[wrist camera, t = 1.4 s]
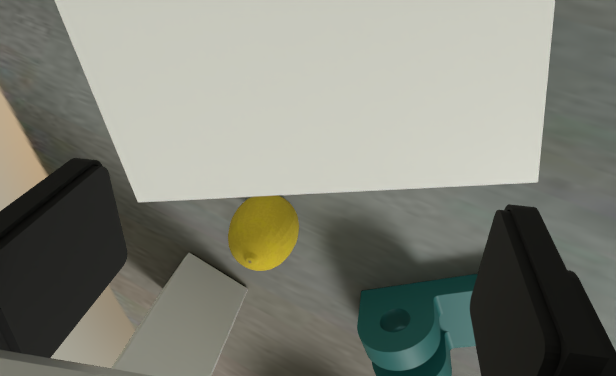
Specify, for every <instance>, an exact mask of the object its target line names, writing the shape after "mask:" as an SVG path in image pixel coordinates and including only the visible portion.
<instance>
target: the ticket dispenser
mask: <svg viewBox="0 0 616 376" xmlns="http://www.w3.org/2000/svg"><path fill="white" fill-rule="evenodd" d="M55 2H56V5H57V7H58V10H59V12H60V15H61V17H62V19H63V22H64V24H65V27H66V29H67V32H68V34H69V36H70V39H71V41H72V44H73V46H74V49H75V51H76V53H77V56H78V58H79V61H80V63H81V66H82V68H83V70H84V73H85V75H86V78H87V80H88V82H89V85H90V87H91V90H92V92H93V95H94V97H95V99H96V102H97V104H98V107H99V109H100V112H101V114H102V116H103V119H104V121H105V124H106V126H107V129H108V131H109V133H110V136H111V138H112V141H113V143H114V146H115V148H116V150H117V153H118V155H119V158H120V160H121V162H122V165H123V167H124V170H125V172H126V175H127V177H128V179H129V182H130V184H131V187H132V189H133V192H134V194H135V196H136V199H137V201H138V202H156V201H176V200H195V199H215V198H235V197H255V196H275V195H295V194H315V193H335V192H355V191H375V190H394V189H414V188H434V187H454V186H474V185H494V184H514V183H534V182H538V175H539V164H540V154H541V143H542V132H543V122H544V111H545V101H546V90H547V80H548V69H549V58H550V48H551V37H552V27H553V16H554V6H555V0H55Z"/></svg>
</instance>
